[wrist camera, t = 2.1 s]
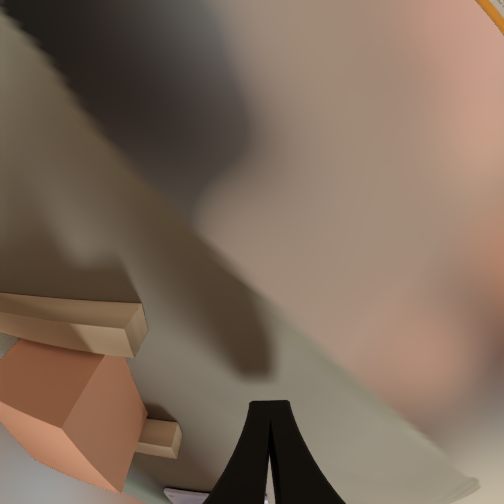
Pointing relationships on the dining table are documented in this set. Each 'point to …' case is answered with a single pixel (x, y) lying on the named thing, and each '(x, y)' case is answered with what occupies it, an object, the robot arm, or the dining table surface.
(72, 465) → the terracotta block
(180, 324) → the dining table surface
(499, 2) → the supplement box
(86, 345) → the parallel wooden rails
